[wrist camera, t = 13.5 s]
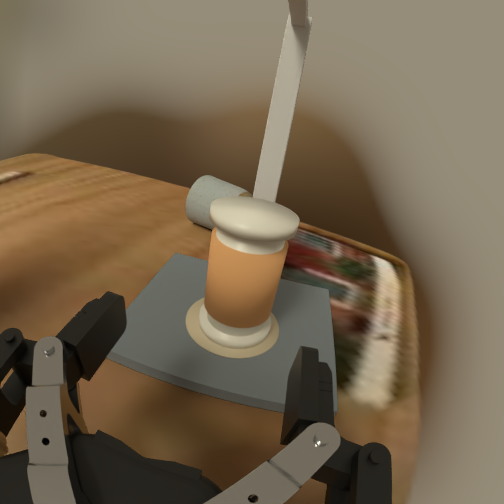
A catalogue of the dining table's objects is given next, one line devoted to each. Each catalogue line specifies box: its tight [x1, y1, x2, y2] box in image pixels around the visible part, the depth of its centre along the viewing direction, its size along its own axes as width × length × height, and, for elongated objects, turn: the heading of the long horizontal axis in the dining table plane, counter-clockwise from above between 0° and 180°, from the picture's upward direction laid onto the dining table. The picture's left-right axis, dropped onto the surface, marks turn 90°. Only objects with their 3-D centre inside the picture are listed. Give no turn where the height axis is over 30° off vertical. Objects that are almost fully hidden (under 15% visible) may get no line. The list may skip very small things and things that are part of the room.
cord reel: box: [199, 196, 299, 349], centre depth 21 cm, size 6×6×10 cm
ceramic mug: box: [186, 175, 253, 230], centre depth 43 cm, size 11×8×8 cm
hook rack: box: [106, 0, 338, 416], centre depth 18 cm, size 18×16×31 cm
